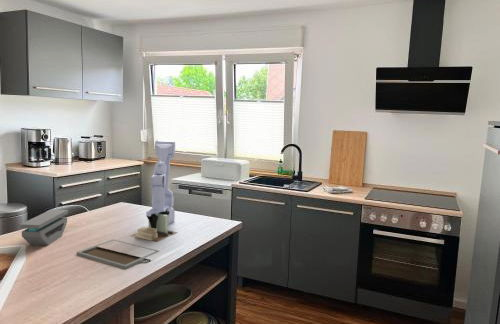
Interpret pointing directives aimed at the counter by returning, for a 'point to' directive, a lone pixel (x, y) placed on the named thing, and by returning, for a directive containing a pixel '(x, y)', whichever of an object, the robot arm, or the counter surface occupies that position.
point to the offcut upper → (147, 231)
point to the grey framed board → (114, 256)
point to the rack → (160, 235)
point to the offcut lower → (146, 236)
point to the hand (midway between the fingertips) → (158, 227)
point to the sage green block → (161, 223)
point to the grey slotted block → (45, 227)
